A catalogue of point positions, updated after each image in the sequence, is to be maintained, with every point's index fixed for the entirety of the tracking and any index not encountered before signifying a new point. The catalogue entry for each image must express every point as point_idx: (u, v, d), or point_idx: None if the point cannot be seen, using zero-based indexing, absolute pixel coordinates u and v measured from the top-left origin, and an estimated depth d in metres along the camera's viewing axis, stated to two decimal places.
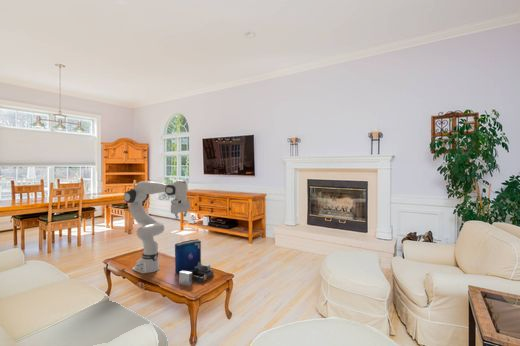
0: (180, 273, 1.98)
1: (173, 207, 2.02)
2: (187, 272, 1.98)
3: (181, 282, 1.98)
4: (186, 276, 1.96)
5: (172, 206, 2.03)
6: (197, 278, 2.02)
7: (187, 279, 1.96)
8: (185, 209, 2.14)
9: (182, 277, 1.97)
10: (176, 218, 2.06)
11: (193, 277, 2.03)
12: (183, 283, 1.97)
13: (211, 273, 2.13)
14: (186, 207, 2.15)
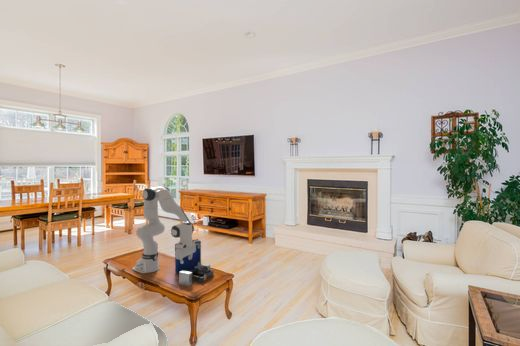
0: (180, 273, 1.98)
1: (178, 253, 1.89)
2: (187, 272, 1.98)
3: (181, 282, 1.98)
4: (186, 276, 1.96)
5: (177, 251, 1.89)
6: (197, 278, 2.02)
7: (187, 279, 1.96)
8: (190, 252, 2.00)
9: (182, 277, 1.97)
10: (181, 263, 1.93)
11: (193, 277, 2.03)
12: (183, 283, 1.97)
13: (211, 273, 2.13)
14: (191, 250, 2.02)
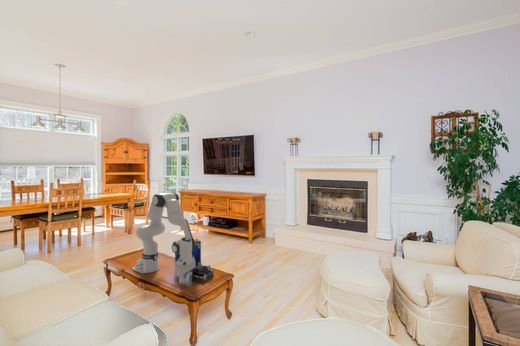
0: None
1: (178, 270, 1.89)
2: (187, 272, 1.98)
3: (181, 282, 1.98)
4: (186, 276, 1.96)
5: (176, 268, 1.90)
6: (197, 278, 2.02)
7: (187, 279, 1.96)
8: (190, 268, 2.01)
9: None
10: (182, 279, 1.95)
11: (193, 277, 2.03)
12: (183, 283, 1.97)
13: (211, 273, 2.13)
14: (191, 266, 2.02)
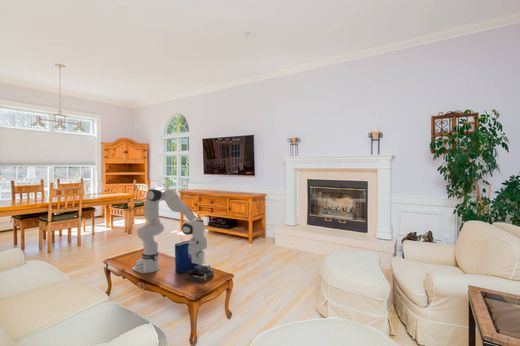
0: None
1: (191, 249, 1.96)
2: None
3: (194, 261, 2.05)
4: (198, 255, 2.03)
5: (190, 247, 1.97)
6: (197, 278, 2.02)
7: (200, 258, 2.03)
8: (202, 248, 2.08)
9: None
10: None
11: (193, 277, 2.03)
12: (196, 262, 2.04)
13: (211, 273, 2.13)
14: (203, 246, 2.09)
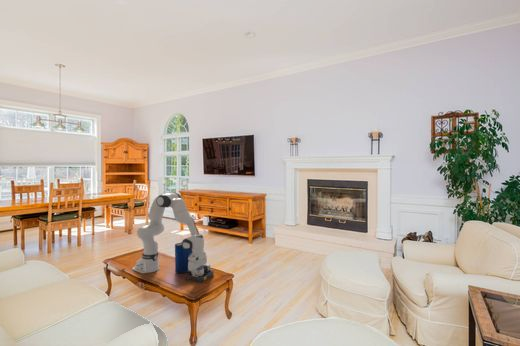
0: None
1: (191, 265, 1.97)
2: (199, 268, 2.05)
3: None
4: (198, 272, 2.04)
5: (189, 263, 1.97)
6: (197, 278, 2.02)
7: (199, 275, 2.03)
8: (202, 263, 2.08)
9: None
10: None
11: (193, 277, 2.03)
12: None
13: (211, 273, 2.13)
14: (203, 261, 2.10)
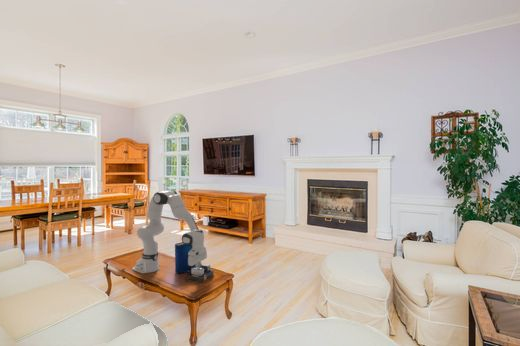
0: (192, 269, 2.06)
1: (191, 260, 1.97)
2: (199, 268, 2.05)
3: None
4: (198, 272, 2.04)
5: (189, 258, 1.97)
6: (197, 278, 2.02)
7: (199, 275, 2.03)
8: (202, 258, 2.08)
9: (194, 273, 2.05)
10: None
11: (193, 277, 2.03)
12: None
13: (211, 273, 2.13)
14: (203, 256, 2.09)
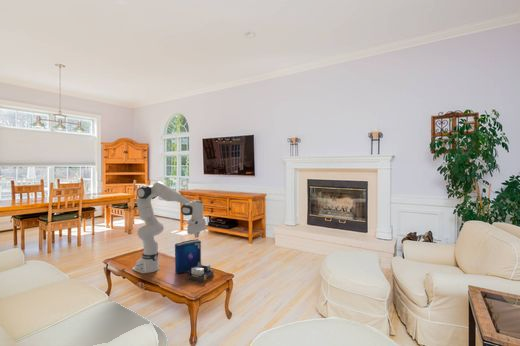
0: (192, 269, 2.06)
1: (190, 228, 2.02)
2: (199, 268, 2.05)
3: None
4: (198, 272, 2.04)
5: (189, 227, 2.03)
6: (197, 278, 2.02)
7: (199, 275, 2.03)
8: (201, 229, 2.14)
9: (194, 273, 2.05)
10: (195, 237, 2.11)
11: (193, 277, 2.03)
12: None
13: (211, 273, 2.13)
14: (202, 227, 2.15)
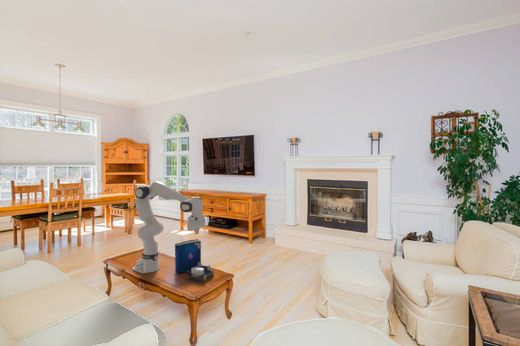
0: (192, 269, 2.06)
1: (190, 225, 2.04)
2: (199, 268, 2.05)
3: None
4: (198, 272, 2.04)
5: (189, 223, 2.05)
6: (197, 278, 2.02)
7: (199, 275, 2.03)
8: (201, 225, 2.16)
9: (194, 273, 2.05)
10: (195, 233, 2.12)
11: (193, 277, 2.03)
12: None
13: (211, 273, 2.13)
14: (202, 223, 2.17)
